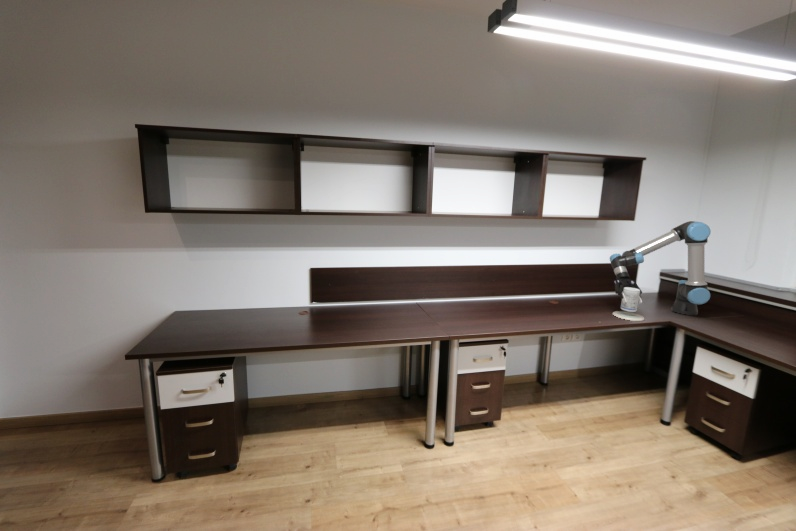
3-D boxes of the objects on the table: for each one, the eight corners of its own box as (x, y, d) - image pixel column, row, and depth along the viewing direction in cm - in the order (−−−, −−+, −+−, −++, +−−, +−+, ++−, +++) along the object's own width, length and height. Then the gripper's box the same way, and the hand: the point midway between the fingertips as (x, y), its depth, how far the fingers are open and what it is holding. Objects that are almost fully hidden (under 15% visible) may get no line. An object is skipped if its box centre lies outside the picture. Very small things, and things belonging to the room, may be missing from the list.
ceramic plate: (625, 312, 259) (625, 310, 258) (650, 320, 242) (650, 318, 242) (606, 314, 252) (606, 312, 252) (631, 322, 236) (631, 320, 235)
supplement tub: (623, 307, 253) (626, 286, 250) (639, 310, 246) (642, 289, 243) (617, 309, 247) (621, 288, 244) (633, 313, 240) (637, 291, 237)
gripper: (634, 277, 258) (646, 306, 246) (603, 276, 258) (613, 305, 245) (640, 271, 252) (653, 300, 239) (608, 270, 251) (619, 299, 239)
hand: (632, 303), depth 242 cm, fingers closed on supplement tub, 9 cm apart
